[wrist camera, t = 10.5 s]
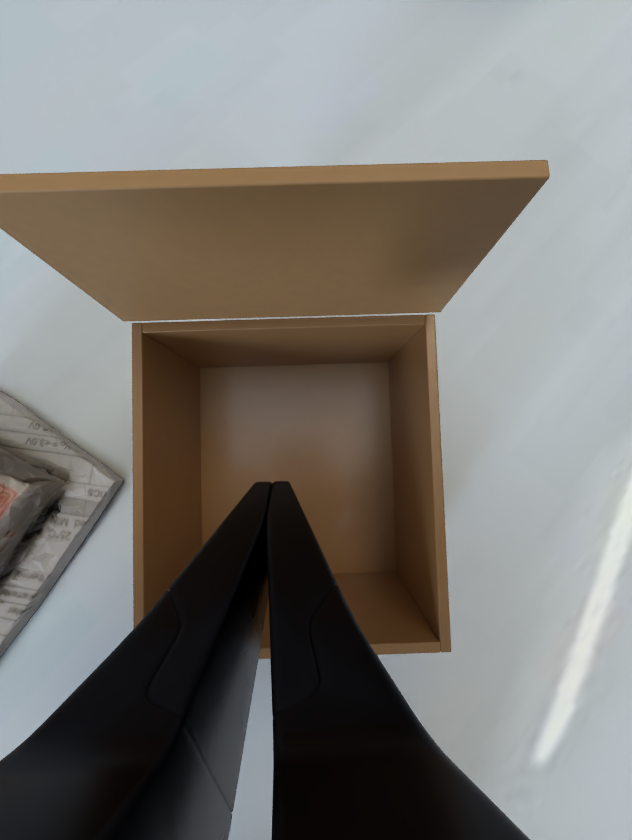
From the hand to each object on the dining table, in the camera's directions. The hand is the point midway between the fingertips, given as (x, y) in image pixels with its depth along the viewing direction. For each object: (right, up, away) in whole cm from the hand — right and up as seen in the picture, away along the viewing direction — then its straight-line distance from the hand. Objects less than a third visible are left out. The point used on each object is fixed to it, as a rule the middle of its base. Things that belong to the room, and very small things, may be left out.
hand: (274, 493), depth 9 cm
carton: (0, -1, +12) cm, 12 cm away
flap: (0, +6, +1) cm, 6 cm away
